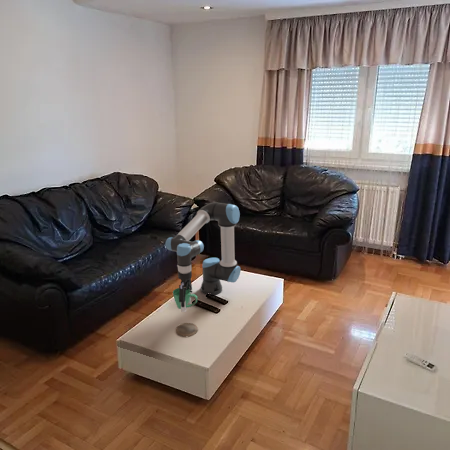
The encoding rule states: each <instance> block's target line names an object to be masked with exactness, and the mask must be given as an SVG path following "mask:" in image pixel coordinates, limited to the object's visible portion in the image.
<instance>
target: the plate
mask: <svg viewBox="0 0 450 450" xmlns="http://www.w3.org/2000/svg"><path fill="white" fill-rule="evenodd" d="M198 331H199V328H198V326H197V324H195V323H192V322H183V323H181V324H178V325H177V326H176V328H175V334H177V336H180V337H185V338H186V336H188V337H192V336H194V335H196V334H197V333H198Z"/></svg>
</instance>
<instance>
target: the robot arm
mask: <svg viewBox="0 0 450 450" xmlns="http://www.w3.org/2000/svg"><path fill="white" fill-rule="evenodd" d="M240 215H241V213H240V210H239V207H238V206H237V205H235V204H232V203H225V202H217V201H216V202H215V201H214V202H210V203H207V204H205V205H204V206H202V207H201V208H200V209H198V211H196V214H195V216H194V217H193V218H192V219H190V221H189V222H188V223H187V224H186V225H185V226H184V227H183V228H182V229H181V230H180V231H179V232H178V234H176V235H175V236H174V237H172V236H171V237H168V238H167V239H166V241H165V249H167V251H170V252H176V256H177V259H176V260H177V265H176V267H177V278H178V280H180V284H179V285H178V288H179V302H181V309H180V311H181V312H184V313H186V312H187V308H186V301H185V296H186V290H188V289H189V290H190V294H193V284H192V277H193V276H192V275H193V274H192V258H193V259H194V257H196V256H198V255H200V254H201V253H202V252H203V251H204V247H205V245H204V243H203V241H201V240H198V239H197V240H194V241H190V240H191V239H192V238H193V237H194V236H195V235H196V233H197V232H198V231H199V230H200V229H202V227H203V226H204V225H205V224H208V223H209V222H210V221H217V225H218V226H219V227H220V242H221V243H220V245H221V247H220V248H221V251H220V252H221V260H220V258H218V257H209V258H206V259H204V260H203V261H202V266H201V267H202V282H201V285H200V292H201V293H202V294H203V295H206V294H208V293H211V294H214V295H213V296H215V295H219V294H221V292H223V285H222V282H221V281H224V282H227V283H233V284H234V283H236V282H237V281H238V280H239V278H240V275H241V270H242V269H241V266H239V265H238V261H237V260H236V259H235V256H236V255H235V254H236V253H235V227H236V226H237V224H238V222H239V221H240ZM188 304H189V305H190V304H192V297H189V301H188Z"/></svg>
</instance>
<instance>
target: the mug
mask: <svg viewBox="0 0 450 450" xmlns="http://www.w3.org/2000/svg"><path fill="white" fill-rule="evenodd" d="M172 295H173V299H174V302H175V305H176V306H177V308H178V309H179V310H181V302H179V287H178V288H175V289H173V291H172ZM189 297H191V298H194V301H193V302H192V303H191V304H190V303H188V301H189ZM185 301H186V309H187V308H191V307H193V306H195V305H196V304H197V303H198V296H197V295H196V294H195V293H191V294H190V290H189V289H188V290H186V296H185Z"/></svg>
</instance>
